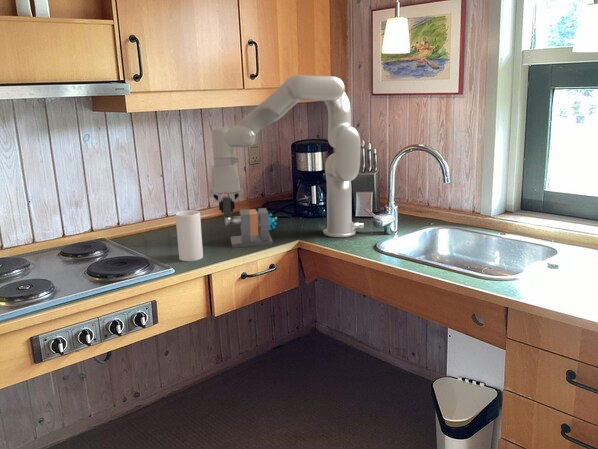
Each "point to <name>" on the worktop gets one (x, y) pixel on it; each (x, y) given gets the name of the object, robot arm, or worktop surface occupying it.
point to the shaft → (229, 212)
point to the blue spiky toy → (270, 222)
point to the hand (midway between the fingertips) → (227, 211)
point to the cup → (189, 235)
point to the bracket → (245, 237)
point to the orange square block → (253, 221)
